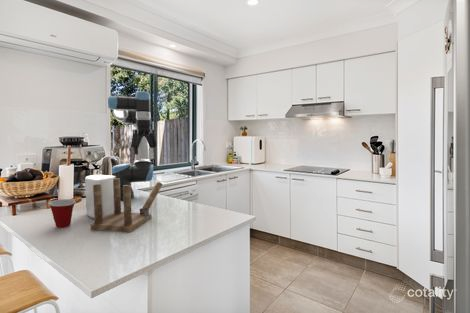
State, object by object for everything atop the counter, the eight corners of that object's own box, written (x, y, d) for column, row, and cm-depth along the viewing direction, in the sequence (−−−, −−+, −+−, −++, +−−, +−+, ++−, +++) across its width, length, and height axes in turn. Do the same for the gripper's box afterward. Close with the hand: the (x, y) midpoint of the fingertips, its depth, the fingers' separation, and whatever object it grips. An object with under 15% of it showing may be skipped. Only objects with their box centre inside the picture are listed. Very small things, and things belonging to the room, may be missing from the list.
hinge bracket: (144, 213, 140) (144, 207, 139) (149, 215, 136) (148, 209, 136) (139, 214, 138) (139, 208, 138) (144, 216, 134) (144, 210, 134)
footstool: (151, 218, 139) (150, 179, 137) (130, 232, 120) (128, 186, 118) (116, 216, 143) (114, 177, 141) (90, 229, 123) (88, 185, 121)
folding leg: (145, 211, 139) (160, 184, 144) (148, 212, 137) (163, 184, 142) (140, 208, 137) (156, 181, 142) (143, 209, 135) (159, 182, 140)
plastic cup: (67, 230, 122) (66, 204, 121) (44, 229, 123) (42, 204, 122) (81, 222, 133) (80, 198, 132) (60, 222, 133) (59, 198, 132)
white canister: (100, 220, 137) (98, 177, 135) (76, 218, 139) (74, 176, 137) (118, 211, 151) (117, 173, 149) (96, 210, 154) (94, 172, 152)
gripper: (132, 118, 138) (133, 161, 140) (162, 120, 157) (163, 158, 159) (122, 118, 142) (123, 160, 144) (153, 120, 161) (154, 157, 163)
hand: (144, 159), depth 151 cm, fingers open, 9 cm apart
